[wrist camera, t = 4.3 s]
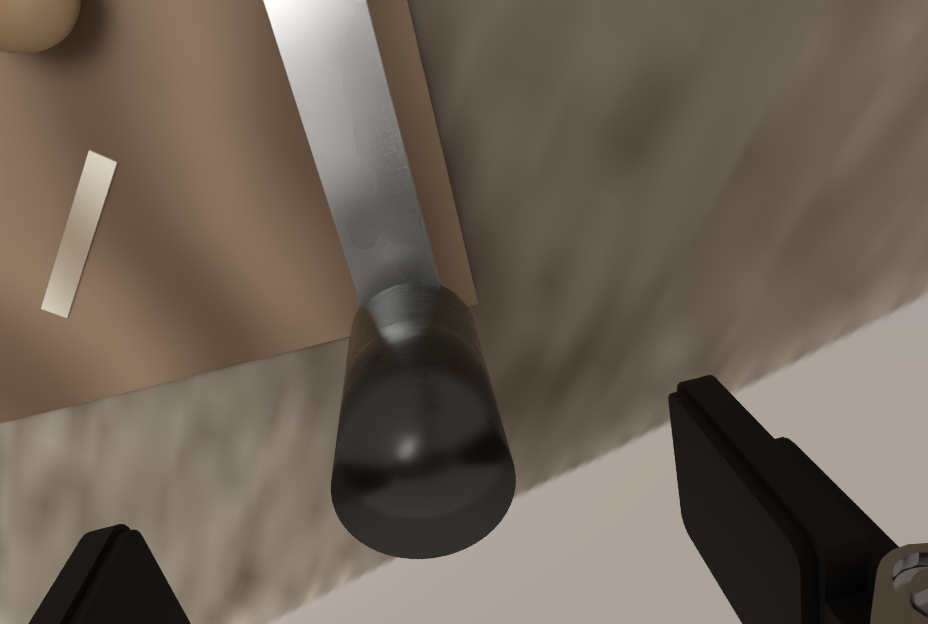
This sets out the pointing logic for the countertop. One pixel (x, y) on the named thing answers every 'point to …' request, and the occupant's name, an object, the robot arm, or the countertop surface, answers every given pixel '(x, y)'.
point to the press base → (175, 196)
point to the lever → (393, 310)
